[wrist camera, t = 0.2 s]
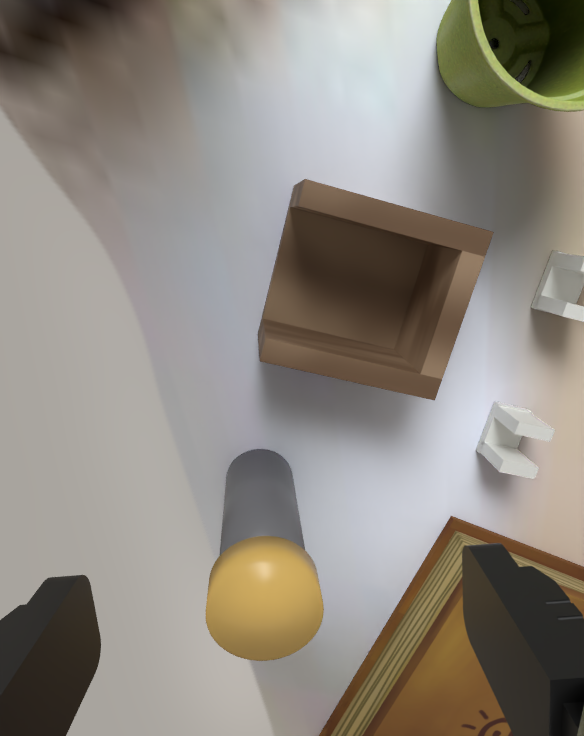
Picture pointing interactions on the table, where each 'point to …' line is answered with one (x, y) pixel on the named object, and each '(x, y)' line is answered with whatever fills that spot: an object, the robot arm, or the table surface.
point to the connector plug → (262, 565)
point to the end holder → (368, 290)
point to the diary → (437, 650)
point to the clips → (514, 422)
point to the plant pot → (514, 53)
